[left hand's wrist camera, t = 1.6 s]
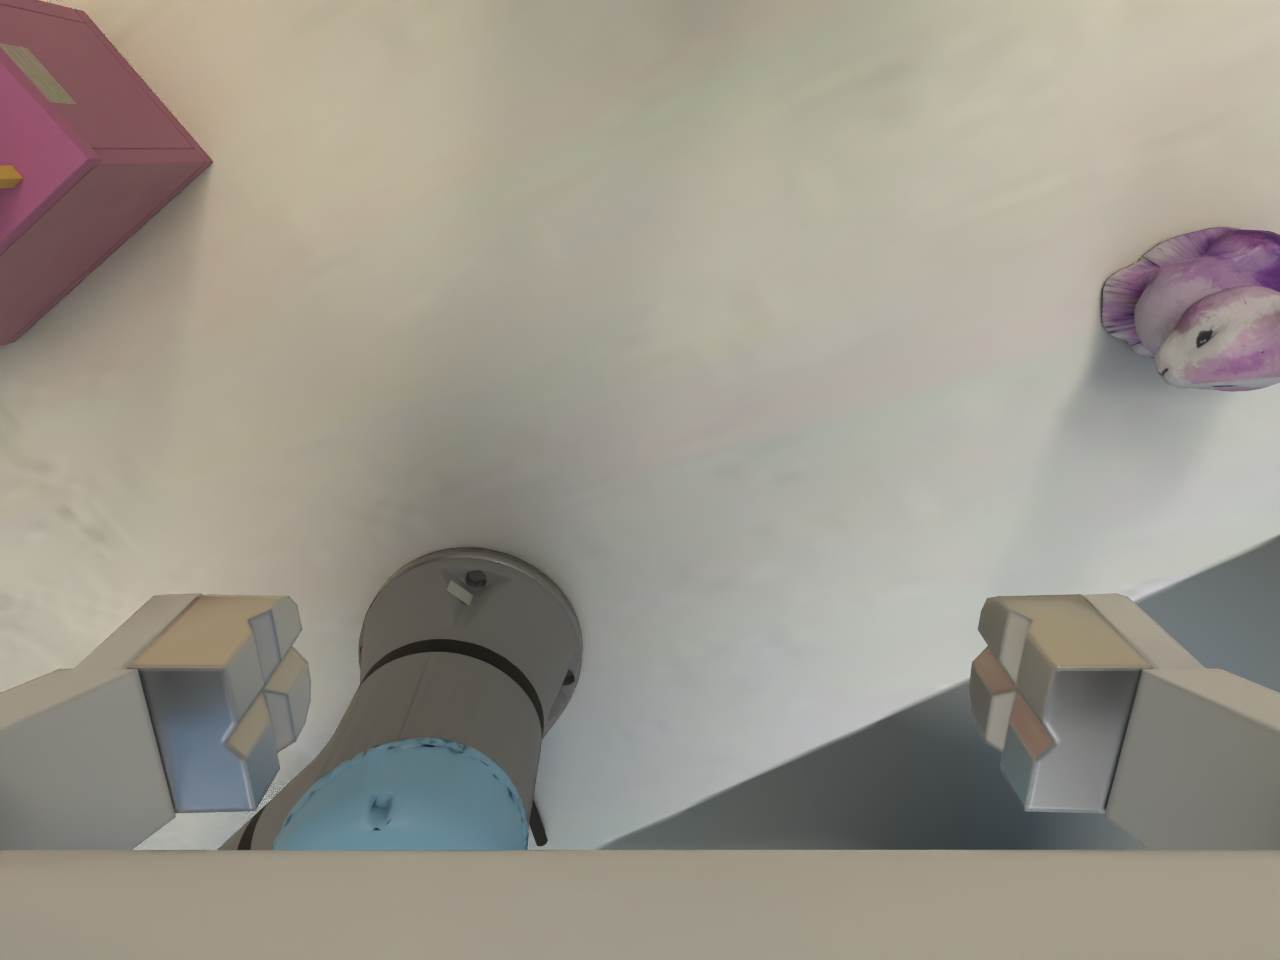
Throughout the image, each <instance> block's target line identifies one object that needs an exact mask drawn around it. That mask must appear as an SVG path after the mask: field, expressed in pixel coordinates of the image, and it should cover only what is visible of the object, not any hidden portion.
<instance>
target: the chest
mask: <svg viewBox="0 0 1280 960" xmlns="http://www.w3.org/2000/svg"><path fill="white" fill-rule="evenodd" d="M0 47H1V48H2V49H3V50H4V51H5V53H6V54H7V55H8V56H9V57H10V58H11V59H12V60H13V61H14V63H15V64H16V65H17V66H18V67H19V68H20V69H21V70H22V71H23V72H24V74H25V75H26V76H27V77H28V78H29V79H30V80H31V81H32V82H33V84H34V85H35V86H36V87H37V88H38V89H39V90H40V91H41V92H42V94H43V95H44V96H45V97H46V98H47V99H48V100H49V101H50V102H51V103H52V105H53V106H54V107H55V108H56V109H57V110H58V111H59V112H60V113H61V115H62V116H63V117H64V118H65V119H66V120H67V121H68V122H69V123H70V124H71V126H72V127H73V128H74V129H75V130H76V131H77V132H78V133H79V134H80V136H81V137H82V138H83V139H84V140H85V141H86V142H87V143H88V144H89V146H90V147H91V148H92V149H93V150H94V151H95V152H96V153H97V154H98V155H99V157H100V158H101V160H100V161H99V162H98V163H97V164H96V165H95V166H94V167H92V168H91V169H90V170H89V171H88V172H87V173H86V174H85V175H84V176H83V177H82V178H81V179H80V180H79V181H78V182H77V183H76V184H75V185H73V186H72V187H71V188H70V189H69V190H68V191H67V192H66V193H65V194H64V195H63V196H62V197H61V198H60V199H59V200H58V201H57V202H55V203H54V204H53V205H52V206H51V207H50V208H49V209H48V210H47V211H46V212H45V213H44V214H43V215H42V216H41V217H40V218H39V219H38V220H36V221H35V222H34V223H33V224H32V225H31V226H30V227H29V228H28V229H27V230H26V231H25V232H24V233H23V234H22V235H21V236H20V237H18V238H17V239H16V240H15V241H14V242H13V243H12V244H11V245H10V246H9V247H8V248H7V249H6V250H5V251H4V252H3V253H2V254H1V255H0V346H2V345H6V344H9V343H12V342H15V341H16V340H17V339H18V338H19V337H21V336H22V335H23V334H24V333H25V332H26V331H27V330H28V329H29V328H30V327H32V326H33V325H34V324H35V323H36V322H37V321H38V320H39V319H40V318H41V317H43V316H44V315H45V314H46V313H47V312H48V311H49V310H50V309H51V308H53V307H54V306H55V305H56V304H57V303H58V302H59V301H60V300H61V299H62V298H64V297H65V296H66V295H67V294H68V293H69V292H70V291H71V290H72V289H73V288H75V287H76V286H77V285H78V284H79V283H80V282H81V281H82V280H83V279H84V278H86V277H87V276H88V275H89V274H90V273H91V272H92V271H93V270H94V269H96V268H97V267H98V266H99V265H100V264H101V263H102V262H103V261H104V260H105V259H107V258H108V257H109V256H110V255H111V254H112V253H113V252H114V251H115V250H116V249H118V248H119V247H120V246H121V245H122V244H123V243H124V242H125V241H126V240H128V239H129V238H130V237H131V236H132V235H133V234H134V233H135V232H136V231H137V230H139V229H140V228H141V227H142V226H143V225H144V224H145V223H146V222H147V221H148V220H150V219H151V218H152V217H153V216H154V215H155V214H156V213H157V212H158V211H160V210H161V209H162V208H163V207H164V206H165V205H166V204H167V203H168V202H169V201H171V200H172V199H173V198H174V197H175V196H176V195H177V194H178V193H179V192H180V191H182V190H183V189H184V188H185V187H186V186H187V185H188V184H189V183H190V182H191V181H193V180H194V179H195V178H196V177H197V176H198V175H199V174H200V173H201V172H203V171H204V170H205V169H206V168H207V167H208V166H209V165H210V164H211V163H212V162H213V161H212V160H211V159H210V158H209V156H208V155H207V154H206V153H205V152H204V151H203V150H202V148H201V147H200V146H199V145H198V144H197V143H196V141H195V140H194V139H193V138H192V137H191V136H190V134H189V133H188V132H187V131H186V130H185V129H184V127H183V126H182V125H181V124H180V123H179V122H178V120H177V119H176V118H175V117H174V116H173V115H172V113H171V112H170V111H169V110H168V109H167V108H166V106H165V105H164V104H163V103H162V102H161V101H160V100H159V98H158V97H157V96H156V95H155V94H154V93H153V91H152V90H151V89H150V88H149V87H148V86H147V84H146V83H145V82H144V81H143V80H142V79H141V77H140V76H139V75H138V74H137V73H136V72H135V70H134V69H133V68H132V67H131V66H130V65H129V63H128V62H127V61H126V60H125V59H124V58H123V56H122V55H121V54H120V53H119V52H118V51H117V50H116V48H115V47H114V46H113V45H112V44H111V43H110V41H109V40H108V39H107V38H106V37H105V36H104V34H103V33H102V32H101V31H100V30H99V29H98V27H97V26H96V25H95V24H94V23H93V22H92V20H91V19H90V18H89V17H88V16H87V15H86V13H85V12H84V11H80V10H76V9H72V8H68V7H64V6H59V5H55V4H51V3H47V2H43V1H39V0H0Z"/></svg>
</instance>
